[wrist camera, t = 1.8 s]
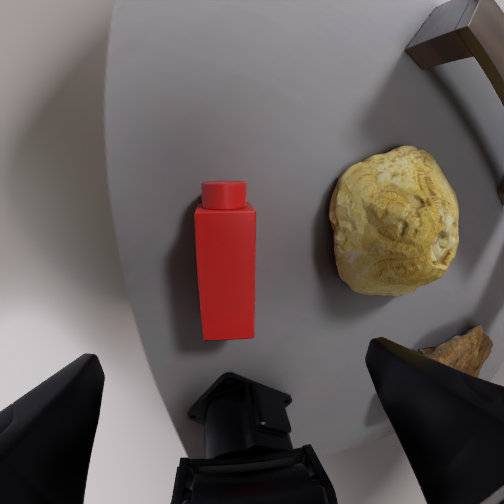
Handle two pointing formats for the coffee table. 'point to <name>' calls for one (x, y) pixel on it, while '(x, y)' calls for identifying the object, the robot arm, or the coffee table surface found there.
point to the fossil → (394, 222)
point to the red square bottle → (226, 260)
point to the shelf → (464, 41)
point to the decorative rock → (463, 351)
